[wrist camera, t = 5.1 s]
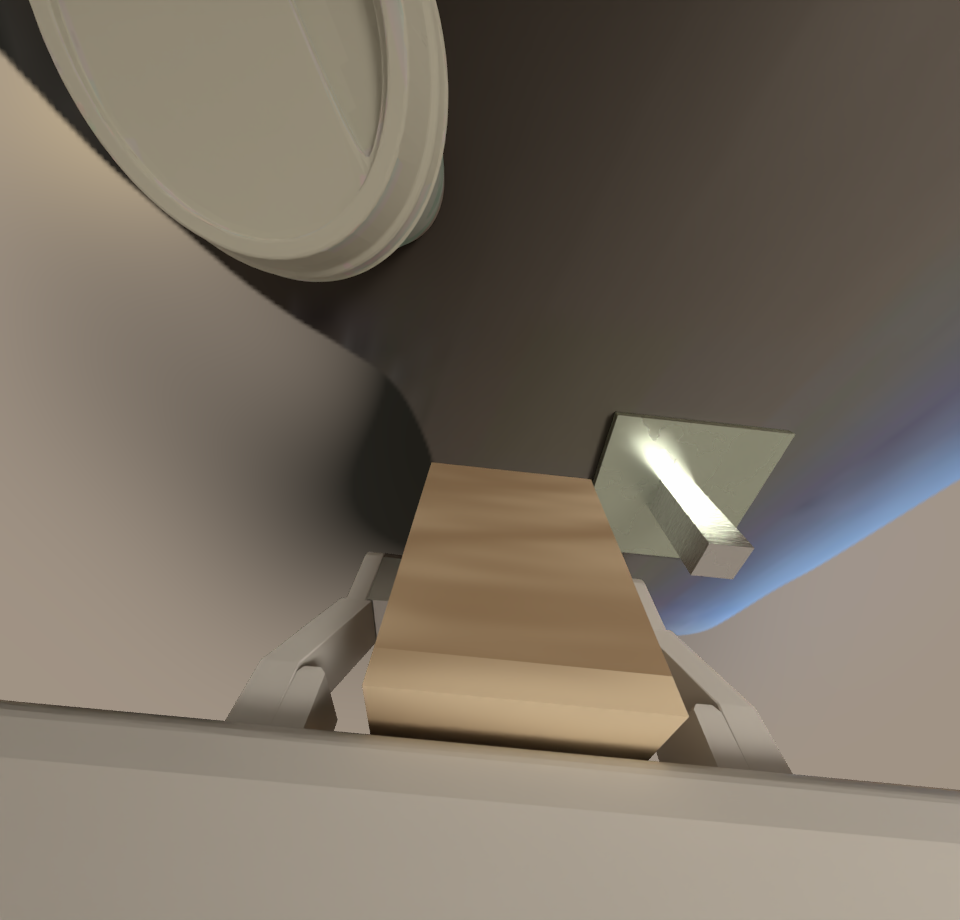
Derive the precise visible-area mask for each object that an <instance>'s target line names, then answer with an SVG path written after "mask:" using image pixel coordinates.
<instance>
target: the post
mask: <svg viewBox="0 0 960 920" xmlns="http://www.w3.org/2000/svg"><path fill="white" fill-rule="evenodd" d="M794 436H795V434H794V433H792V432H790V431H789V430H780V429H770V428H761V427H752V426H743V425H734V424H724V423H715V422H706V421H697V420H687V419H678V418H669V417H660V416H651V415H641V414H632V413H623V412H615V414H614V417H613V420H612V423H611V426H610V429H609V432H608V435H607V439H606V442H605V445H604V448H603V451H602V454H601V457H600V460H599V463H598V466H597V470H596V473H595V476H594V479H593V482H592V483H593V486H594V488H595V491H596V493H597V495H598V498H599V500H600V503H601V505H602V507H603V510H604V512H605V515H606V517H607V520H608V522H609V524H610V527H611V529H612V532H613V534H614V536H615V539H616V541H617V544H618V546H619V548H620V551H621V552H626V553H635V554H645V555H655V556H665V557H675V558H680V559H681V560H682V562H683V563H684V565H685V566H686V568H687V570H688V571H689V573H690V574H691V575H696V576H706V577H716V578H726V579H733V578H734V577H735V575H736V574H737V572H738V571H739V569H740V568H741V567H742V565H743V564H744V562H745V561H746V559H747V558H748V557H749V555H750V554H751V552H752V551H753V549H754V547H753V546H752V545H751V544H750V543H749V542H748V541H747V540H746V538H745V537H744V536H743V535H742V534H741V533H740V532H739V531H738V530H737V529H736V527H737V526H738V524H739V522H740V521H741V519H742V518H743V516H744V515H745V513H746V511H747V510H748V508H749V507H750V505H751V504H752V502H753V500H754V499H755V497H756V496H757V494H758V492H759V491H760V489H761V488H762V486H763V485H764V483H765V481H766V480H767V478H768V477H769V475H770V474H771V472H772V470H773V469H774V467H775V466H776V464H777V462H778V461H779V459H780V458H781V456H782V455H783V453H784V451H785V450H786V448H787V447H788V445H789V443H790V442H791V440H792V439H793V437H794Z"/></svg>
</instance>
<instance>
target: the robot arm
mask: <svg viewBox="0 0 960 920" xmlns="http://www.w3.org/2000/svg"><path fill="white" fill-rule="evenodd" d="M401 559H402V555H395V554H386V553H377V552H368V553H367V554H366V555H365V557H364V559H363V561H362V563H361V566H360V568H359V570H358V573H357V575H356V577H355V580H354V582H353V584H352V586H351V589H350V591H349V593H348V595H347V598H340V599H339V600H338V601H336V602H335V603H334V604H332V605H331V606H330V607H328V608H327V609H326V610H325V611H323V612H322V613H321V614H319V615H318V616H317V617H316V618H314V619H313V620H312V621H310V622H309V623H308V624H306V625H305V626H304V627H303V628H301V629H300V630H299V631H297V632H296V633H295V634H293V635H292V636H291V637H290V638H288V639H287V640H286V641H284V642H283V643H282V644H281V645H279V646H278V647H277V648H275V649H274V650H273V651H272V652H270V653H269V654H268V655H266V656H265V657H264V658H262V659H261V660H260V662H259V664H258V665H257V667H256V669H255V671H254V672H253V674H252V676H251V677H250V679H249V681H248V683H247V684H246V686H245V688H244V689H243V691H242V693H241V695H240V696H239V698H238V700H237V702H236V703H235V705H234V707H233V708H232V710H231V712H230V713H229V715H228V717H227V719H226V720H225V721H220V720H209V719H198V718H187V717H177V716H166V715H154V714H144V713H134V712H123V711H113V710H102V709H91V708H80V707H69V706H59V705H47V704H36V703H25V702H16V701H5V700H0V920H960V790H954V789H943V788H933V787H922V786H911V785H901V784H891V783H880V782H869V781H858V780H848V779H837V778H827V777H817V776H805V775H795V774H792V772H791V770H790V768H789V767H788V765H787V763H786V761H785V760H784V758H783V756H782V754H781V753H780V751H779V749H778V748H777V746H776V744H775V742H774V740H773V738H772V737H771V735H770V733H769V731H768V730H767V728H766V726H765V724H764V723H763V721H762V719H761V718H760V716H759V714H758V712H757V711H756V708H755V707H753V706H752V705H751V704H750V703H749V702H748V701H747V700H746V699H745V698H744V697H743V696H742V695H740V694H739V693H738V692H737V691H736V690H735V689H734V688H733V687H732V686H731V685H730V684H728V683H727V682H726V681H725V680H724V679H723V678H722V677H721V676H720V675H719V674H718V673H717V672H715V671H714V670H713V669H712V668H711V667H710V666H709V665H708V664H707V663H705V661H703V660H702V659H701V658H700V657H699V656H698V655H697V654H696V653H695V652H694V651H693V650H692V649H690V648H689V647H688V646H687V645H686V644H685V643H684V642H683V641H682V640H681V639H680V638H679V637H677V636H676V635H675V634H674V633H673V632H672V631H670V630H666V629H665V627H664V625H663V622H662V620H661V618H660V616H659V614H658V612H657V609H656V607H655V605H654V603H653V601H652V598H651V596H650V594H649V592H648V590H647V588H646V585H645V583H644V582H643V581H642V580H640V579H632V580H633V582H634V585H635V587H636V590H637V592H638V594H639V597H640V599H641V602H642V604H643V606H644V609H645V611H646V614H647V616H648V619H649V621H650V623H651V626H652V628H653V631H654V633H655V635H656V638H657V640H658V643H659V645H660V648H661V650H662V652H663V655H664V657H665V660H666V662H667V664H668V667H669V669H670V672H671V674H672V676H673V679H674V681H675V684H676V686H677V689H678V691H679V693H680V696H681V698H682V701H683V703H684V705H685V708H686V710H687V713H688V715H689V717H688V719H687V720H686V721H685V722H684V723H683V724H682V725H681V726H680V727H679V728H678V729H677V730H676V731H675V732H674V733H673V734H672V735H671V737H670V738H669V739H668V740H667V741H666V742H665V743H664V744H663V745H662V746H661V747H660V748H659V749H658V750H657V751H656V752H657V755H658V759H659V762H657V761H647V760H636V759H625V758H615V757H604V756H593V755H583V754H572V753H562V752H551V751H540V750H530V749H519V748H508V747H498V746H487V745H476V744H466V743H455V742H444V741H434V740H423V739H412V738H402V737H391V736H380V735H370V734H359V733H348V732H337V731H334V729H335V726H336V723H337V716H336V712H335V709H334V705H333V701H332V697H331V694H330V693H331V692H332V691H333V689H334V688H335V687H336V686H337V685H338V684H339V682H341V681H342V679H343V678H344V677H345V676H346V675H347V674H348V673H349V672H350V670H351V669H352V668H353V667H354V666H355V665H356V664H357V663H358V662H359V660H360V659H361V658H362V657H363V656H364V655H365V654H366V653H367V652H368V651H369V649H370V648H371V647H372V646H373V645H374V644H375V642H376V639H377V636H378V633H379V630H380V626H381V623H382V620H383V617H384V614H385V610H386V607H387V604H388V601H389V597H390V594H391V591H392V588H393V585H394V581H395V578H396V575H397V572H398V569H399V565H400V562H401Z"/></svg>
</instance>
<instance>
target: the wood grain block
mask: <svg viewBox="0 0 960 920" xmlns="http://www.w3.org/2000/svg"><path fill="white" fill-rule="evenodd" d="M362 688H363V693H364V699H365V705H366V711H367V717H368V722H369V729H370V735H380V736H391V737H402V738H412V739H423V740H434V741H444V742H455V743H466V744H476V745H487V746H498V747H508V748H519V749H530V750H540V751H551V752H562V753H572V754H583V755H593V756H604V757H615V758H625V759H636V760H647V761H648V760H649V759H650V758H651V757H652V755H654V753H655V752H656V751H657V750H658V749H659V748H660V747H661V746H662V745H663V744H664V743H665V742H666V741H667V740H668V739H669V738H670V737H671V735H672V734H673V733H674V732H675V731H676V730H677V729H678V728H679V727H680V726H681V725H682V724H683V723H684V722H685V721H686V720H687V719H688V717H689V715H688V713H687V710H686V708H685V705H684V703H683V701H682V698H681V696H680V693H679V691H678V689H677V686H676V684H675V681H674V679H673V676H672V674H671V672H670V669H669V667H668V664H667V662H666V660H665V657H664V655H663V652H662V650H661V648H660V645H659V643H658V640H657V638H656V635H655V633H654V631H653V628H652V626H651V623H650V621H649V619H648V616H647V614H646V611H645V609H644V606H643V604H642V602H641V599H640V597H639V594H638V592H637V590H636V587H635V585H634V582H633V580H632V577H631V575H630V573H629V570H628V568H627V565H626V563H625V561H624V558H623V556H622V553H621V551H620V548H619V546H618V544H617V541H616V539H615V536H614V534H613V532H612V529H611V527H610V524H609V522H608V520H607V517H606V515H605V512H604V510H603V507H602V505H601V503H600V500H599V498H598V495H597V493H596V491H595V488H594V486H593V483H592V481H591V479H582V478H573V477H563V476H554V475H545V474H535V473H526V472H517V471H507V470H498V469H488V468H479V467H470V466H460V465H451V464H441V463H431V466H430V469H429V473H428V476H427V479H426V482H425V485H424V489H423V492H422V495H421V498H420V501H419V504H418V508H417V511H416V514H415V518H414V521H413V524H412V527H411V530H410V533H409V537H408V540H407V543H406V546H405V550H404V553H403V556H402V559H401V562H400V565H399V569H398V572H397V575H396V578H395V581H394V585H393V588H392V591H391V594H390V597H389V601H388V604H387V607H386V610H385V614H384V617H383V620H382V623H381V626H380V630H379V633H378V636H377V639H376V642H375V646H374V649H373V652H372V655H371V658H370V662H369V665H368V668H367V671H366V675H365V678H364V681H363V684H362Z"/></svg>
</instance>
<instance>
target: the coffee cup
mask: <svg viewBox="0 0 960 920" xmlns="http://www.w3.org/2000/svg"><path fill="white" fill-rule="evenodd" d="M29 2H30V4H31V7H32V10H33V13H34V15H35V18H36V21H37V24H38V26H39V29H40V32H41V34H42V37H43V40H44V42H45V44H46V46H47V49H48V51H49V53H50V55H51V58H52V60H53V62H54V64H55V66H56V68H57V70H58V72H59V75H60V76H61V78H62V80H63V82H64V84H65V86H66V88H67V90H68V91H69V93H70V95H71V97H72V99H73V100H74V102H75V104H76V105H77V107H78V109H79V111H80V112H81V114H82V116H83V117H84V119H85V120H86V122H87V123H88V125H89V127H90V128H91V129H92V131H93V132H94V134H95V135H96V137H97V138H98V140H99V141H100V142H101V144H102V145H103V146H104V148H105V149H106V150H107V152H108V153H109V154H110V155H111V157H112V158H113V159H114V161H115V162H116V163H117V164H118V165H119V167H120V168H121V169H122V170H123V171H124V172H125V174H126V175H127V176H128V177H129V178H130V179H131V180H132V182H133V183H134V184H135V185H136V186H137V187H138V188H139V189H140V190H141V191H142V192H143V193H145V194H146V195H147V196H148V197H149V198H150V199H151V200H152V201H153V202H154V203H155V204H156V205H157V206H158V207H160V208H161V209H162V210H163V211H164V212H165V213H167V214H168V215H169V216H171V217H172V218H173V219H174V220H176V221H177V222H178V223H180V224H181V225H183V226H184V227H186V228H187V229H189V230H190V231H192V232H193V233H195V234H196V235H198V236H200V237H202V238H204V239H205V240H207V241H208V242H209V243H211V244H212V245H214V246H215V247H217V248H218V249H220V250H221V251H223V252H224V253H226V254H228V255H229V256H231V257H233V258H235V259H237V260H239V261H241V262H243V263H245V264H247V265H249V266H252V267H254V268H257V269H259V270H262V271H265V272H268V273H272V274H275V275H278V276H282V277H285V278H289V279H294V280H300V281H308V282H328V281H336V280H341V279H346V278H349V277H352V276H355V275H358V274H361V273H363V272H365V271H367V270H369V269H371V268H373V267H374V266H376V265H377V264H379V263H380V262H382V261H383V260H385V259H386V258H387V257H388V256H390V255H391V254H392V253H393V252H394V251H395V250H396V249H397V248H398V247H401V246H403V245H406V244H408V243H410V242H412V241H414V240H416V239H418V238H419V237H421V236H422V235H423V234H424V233H425V232H426V231H427V230H428V229H429V228H430V226H431V225H432V224H433V222H434V220H435V219H436V217H437V215H438V212H439V210H440V207H441V203H442V199H443V193H444V164H443V150H444V144H445V138H446V129H447V117H448V75H447V62H446V52H445V45H444V38H443V32H442V26H441V21H440V17H439V12H438V8H437V4H436V0H29Z"/></svg>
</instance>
